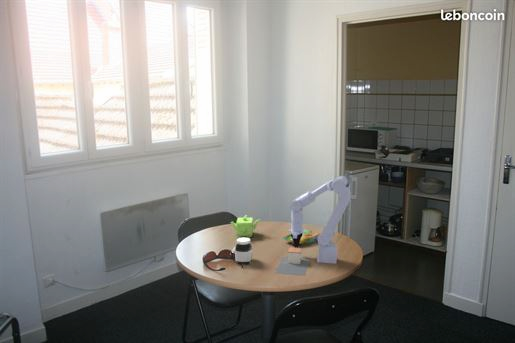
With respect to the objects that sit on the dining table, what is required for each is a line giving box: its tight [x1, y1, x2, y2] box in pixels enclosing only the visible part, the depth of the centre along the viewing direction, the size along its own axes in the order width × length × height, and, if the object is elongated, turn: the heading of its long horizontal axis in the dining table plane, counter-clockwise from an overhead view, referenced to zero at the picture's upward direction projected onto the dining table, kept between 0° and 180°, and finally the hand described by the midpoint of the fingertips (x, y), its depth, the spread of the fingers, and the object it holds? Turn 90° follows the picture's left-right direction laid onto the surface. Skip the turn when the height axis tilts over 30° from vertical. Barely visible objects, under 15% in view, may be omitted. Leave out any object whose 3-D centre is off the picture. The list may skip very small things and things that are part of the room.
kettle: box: [230, 214, 261, 239], centre depth 261 cm, size 15×14×11 cm
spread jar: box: [230, 236, 253, 265], centre depth 223 cm, size 12×11×12 cm
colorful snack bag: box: [281, 228, 321, 247], centre depth 251 cm, size 12×5×20 cm
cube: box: [287, 247, 302, 264], centre depth 221 cm, size 6×6×6 cm
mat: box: [274, 256, 310, 276], centre depth 216 cm, size 14×20×1 cm
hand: (296, 247), depth 228 cm, fingers closed
